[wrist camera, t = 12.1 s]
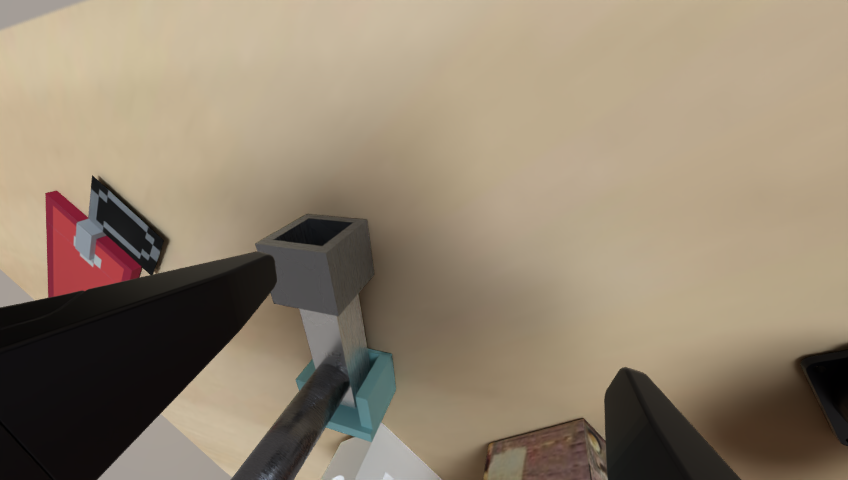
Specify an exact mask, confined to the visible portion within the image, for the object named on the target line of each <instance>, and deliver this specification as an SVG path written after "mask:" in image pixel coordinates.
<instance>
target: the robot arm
mask: <svg viewBox="0 0 848 480" xmlns="http://www.w3.org/2000/svg"><path fill="white" fill-rule="evenodd" d="M276 283H277V274H276V266H275V259H274V257H273V256H272V255H270V254H267V253H264V252H253V253H248V254H244V255H239V256H235V257H230V258H226V259H221V260H217V261H212V262H208V263H203V264H199V265H194V266H190V267H185V268H181V269H176V270H172V271H167V272H163V273H158V274H154V275H149V276H145V277H140V278H136V279H131V280H127V281H122V282H118V283H113V284H109V285H104V286H100V287H95V288H91V289H87V290H86V291H84V290H82V291H77V292H73V293H68V294H64V295H59V296H54V297H50V298H45V299H40V300H36V301H31V302H26V303H22V304H16V305H11V306H6V307H1V308H0V480H97V479H98V478H99V477H100V476H101V475H102V474H103V473H104V472H105V471H106V470H107V469H108V468H109V467H110V466H111V465H112V464H113V463H114V462H115V460H117V459H118V457H119V456H120V455H121V454H122V453H123V452H124V451H125V450H126V449H127V448H128V447H129V446H130V445H131V444H132V443H133V442H134V440H136V439H137V438H138V437H139V436H140V435H141V433H142V432H143V431H144V430H145V429H146V428H147V427H148V426H149V425H150V424H151V423H152V422H153V421H154V420H155V419H156V418H157V417H158V416H159V415H160V414H161V413H162V412H163V411H164V409H165V408H166V407H167V406H168V405H169V404H170V403H171V402H172V401H173V400H174V399H175V398H176V397H177V396H178V395H179V394H180V393H181V392H182V391H183V390H184V389H185V388H186V387H187V385H188V384H189V383H190V382H191V381H192V380H193V379H194V378H195V377H196V376H197V375H198V374H199V373H200V372H201V371H202V370H203V369H204V368H205V367H206V366H207V365H208V364H209V362H210V361H211V360H212V359H213V358H214V357H215V356H216V355H217V354H218V353H219V352H220V351H221V350H222V349H223V348H224V347H225V346H226V345H227V344H228V343H229V342H230V341H231V340H232V338H233V337H234V336H235V335H236V334H237V333H238V332H239V331H240V330H241V329H242V327H243V326H244V325H245V324H246V322H247V321H248V320H249V319H250V317H251V316H252V315H253V314H254V312H255V311H256V310H257V309H258V307H259V306H260V305H261V304H262V302H263V301H264V300H265V299H266V297H267V296H268V295H269V294H270V292H271V291H272V290H273V289H274V287H275V285H276ZM816 366H817V367H816ZM801 367H802V369H803V371H804V373H805V376H806V378H807V380H808V382H809V384H810V386H811V388H812V390H813V392H814V394H815V396H816V398H817V400H818V402H819V404H820V406H821V409H822V411H823V413H824V415H825V417H826V419H827V421H828V423H829V425H830V427H831V429H832V431H833V433H834V435H835V436H836V437H837V439H838V440H839V441H840V442H841V443H842V444H844V445H846V446H848V350H846V351H840V352H835V353H829V354H823V355H818V356H812V357H808V358H805V359H804V360H802V362H801ZM604 404H605V438H606V466H607V478H608V480H741V479H740V478H739V477H738V476H737V475H736V473H735V472H734V471H733V470H732V469H731V468H730V467H729V466H728V465H727V463H726V462H725V461H724V460H723V459H722V458H721V457H720V456H719V455H718V453H717V452H716V451H715V450H714V449H713V448H712V447H711V446H710V445H709V444H708V442H707V441H706V440H705V439H704V438H703V437H702V436H701V435H700V434H699V432H698V431H697V430H696V429H695V428H694V427H693V426H692V425H691V424H690V422H689V421H688V420H687V419H686V418H685V417H684V416H683V415H682V414H681V412H680V411H679V410H678V409H677V408H676V407H675V406H674V405H673V404H672V403H671V401H670V400H669V399H668V398H667V397H666V396H665V395H664V394H663V393H662V391H661V390H660V389H659V388H658V387H657V386H656V385H655V384H654V383H653V381H652V380H651V379H650V378H649V377H648V376H647V375H646V374H644V373H643V372H640V371H637V370H634V369H630V368H627V367H623V368H621V369H620V370H619V371H618V373H617V375H616V376H615V378H614V379H613V381H612V382H611V384H610V385H609V387H608V388H607V390H606V393H605V399H604Z"/></svg>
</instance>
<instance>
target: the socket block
mask: <svg viewBox="0 0 848 480" xmlns="http://www.w3.org/2000/svg"><path fill="white" fill-rule="evenodd" d="M367 349H368V348H367ZM368 356H369V362H370V368H371V370H370V372H369V374H368V376H367V377H366V379H365V381H364V382H363V384H362V386H361V388H360V389H359V391H358V393H357V394H356V396H355V397H356V402H357V407H356V409H355V408H351V407H348V406H344V405H341V404H340V405H339V407H338V408H337V410H336V412H335V413H334V415H333V416H332V418H331V420H330V421H329V423H328V425H327V426H326V428H329V429H332V430H335V431H338V432H342V433H345V434H348V435H351V436H354V437H357V438H360V439H363V440H366V441H369V442H372V441H373V439H374V436H375V434H376V432H377V430H378V428H379V426H380V423H381V421H382V419H383V417H384V415H385V413H386V410H387V408H388V406H389V404H390V402H391V400H392V397H393V395H394V393H395V391H396V385H395V376H394V367H393V359H392V354H390V353H386V352H381V351H377V350H372V349H368ZM315 370H316V369H315V365H314V362H313V359H312V360H311V361H310V363H309V364H308V365H307V366H306V367H305V369H304V370H303V371H302V372H301V374H300V375H299V376H298V377H297V379H296V382H297V386H298V389H299V391H300V389H301V388H302V387H303V385H304V384H305V383H306V382H307V380H308V379H309V378H310V376H311V375H312V374H313V372H314V371H315Z"/></svg>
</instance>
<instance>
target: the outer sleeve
mask: <svg viewBox="0 0 848 480" xmlns="http://www.w3.org/2000/svg"><path fill="white" fill-rule="evenodd" d="M255 245H256V248H257V251H258V252H264V253H267V254H270V255H272V256H273V257H274V259H275V266H276V274H277V283H276V285H275V287H274V289H273V290H272V291H271V292H270V293H271V296H272V299H273V302H274V304H279V305H284V306H289V307H294V308H299V309H304V310H309V311H314V312H319V313H324V314H329V315H334V316H340V314H341V313H342V312H343V311H344V310H345V308H346V307H347V306H348V305H349V304H350V303H351V301H352V300H353V299H354V298H355V297H356V295H357V294H358V293H359V292H360V291H361V290H362V288H363V287H364V286H365V285H366V284H367V282H368V281H369V280H370V279H371V278H372V277H373V275H374V268H373V260H372V253H371V245H370V237H369V230H368V222H367V219H356V218H345V217H335V216H324V215H313V214H306V215H304V216H302V217H301V218H299V219H297V220H295V221H294V222H292V223H290V224H288V225H287V226H285V227H283V228H281V229H280V230H278V231H276V232H275V233H273V234H271V235H269V236H268V237H266V238H264V239H262V240H261V241H259V242H257V243H255Z"/></svg>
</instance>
